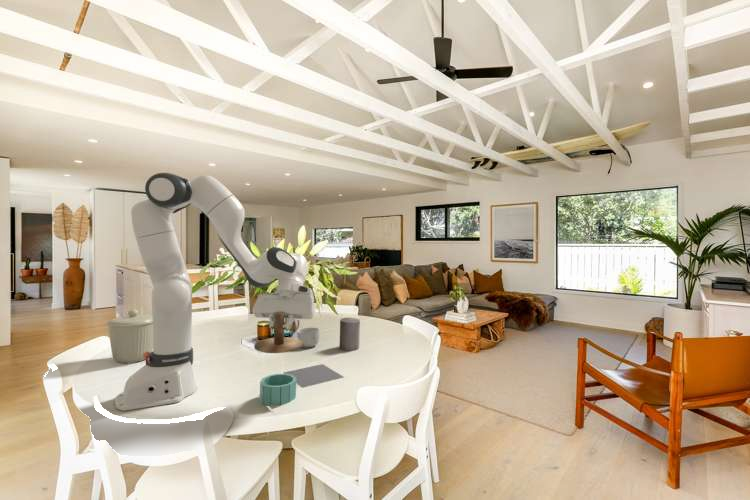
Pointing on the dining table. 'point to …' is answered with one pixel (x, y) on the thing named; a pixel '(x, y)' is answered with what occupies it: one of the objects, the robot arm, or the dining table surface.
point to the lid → (278, 339)
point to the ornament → (293, 325)
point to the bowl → (277, 389)
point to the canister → (131, 336)
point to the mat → (314, 375)
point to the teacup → (308, 336)
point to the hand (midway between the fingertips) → (278, 328)
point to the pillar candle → (349, 333)
